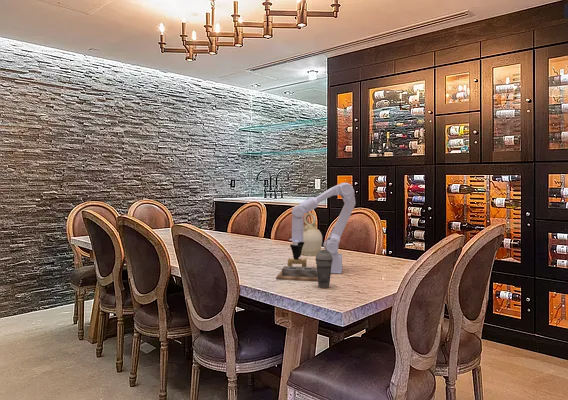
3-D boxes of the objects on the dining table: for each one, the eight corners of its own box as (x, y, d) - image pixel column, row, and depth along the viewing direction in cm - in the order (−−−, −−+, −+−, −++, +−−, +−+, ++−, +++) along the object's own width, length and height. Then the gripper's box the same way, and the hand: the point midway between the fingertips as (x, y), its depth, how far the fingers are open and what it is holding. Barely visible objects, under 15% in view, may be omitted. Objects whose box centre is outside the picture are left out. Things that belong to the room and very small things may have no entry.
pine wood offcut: (306, 271, 210) (306, 259, 209) (306, 272, 207) (306, 260, 206) (288, 270, 211) (288, 258, 211) (287, 271, 208) (287, 259, 208)
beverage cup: (321, 283, 184) (322, 237, 183) (335, 286, 179) (336, 239, 178) (311, 286, 178) (312, 239, 177) (326, 289, 174) (326, 240, 173)
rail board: (323, 274, 202) (323, 266, 202) (320, 281, 188) (320, 272, 188) (281, 272, 205) (281, 264, 205) (275, 279, 191) (276, 270, 191)
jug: (309, 251, 271) (310, 211, 270) (327, 254, 260) (328, 213, 258) (291, 253, 262) (292, 212, 260) (309, 257, 250) (309, 214, 249)
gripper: (291, 228, 216) (291, 255, 216) (287, 231, 202) (286, 260, 202) (305, 228, 215) (305, 255, 215) (302, 232, 200) (301, 261, 201)
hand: (297, 258), depth 209 cm, fingers open, 7 cm apart
